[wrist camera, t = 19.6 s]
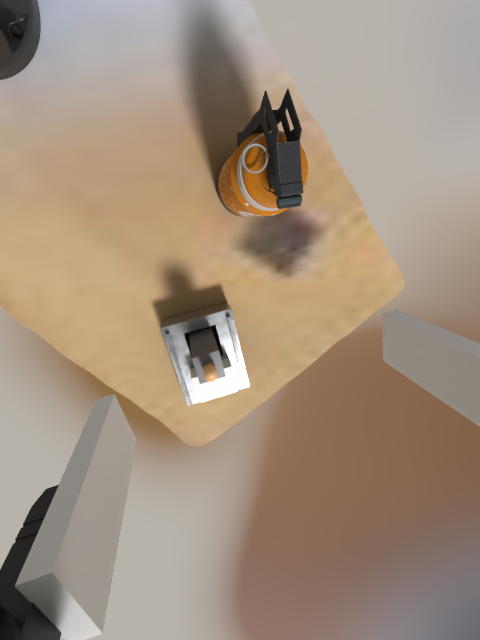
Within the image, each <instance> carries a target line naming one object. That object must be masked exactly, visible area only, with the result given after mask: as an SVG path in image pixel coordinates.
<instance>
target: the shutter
mask: <svg viewBox="0 0 480 640" xmlns="http://www.w3.org/2000/svg"><path fill="white" fill-rule="evenodd" d="M221 360H222V364H223V367H224V371H225V375H226V376H225V377H222V378H219V379H216V380H215V381H213V382H206V383H202V384H200V383H199V380H198V377H197V373H196V370H195V367H194V368H191V369H190V371H191V379H192V382H193V385H194V386H196V389H197V392H198V395H199V398H200V401H201V403H203V402H206V401H209V400H212V399H215V398H218V397H222V396H225V395H228V394H231V393H234V392H237V387H236V383H235V379H234V375H233V374H234V372H233V368H232V365H231V362H230V360H229V357H228V358H225V359H221Z"/></svg>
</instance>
